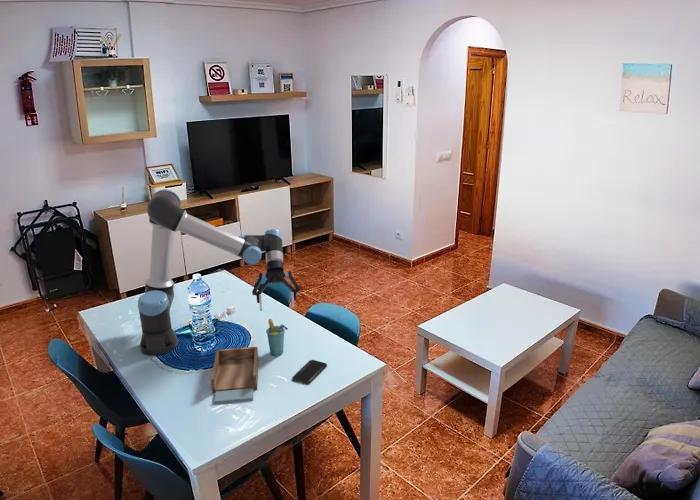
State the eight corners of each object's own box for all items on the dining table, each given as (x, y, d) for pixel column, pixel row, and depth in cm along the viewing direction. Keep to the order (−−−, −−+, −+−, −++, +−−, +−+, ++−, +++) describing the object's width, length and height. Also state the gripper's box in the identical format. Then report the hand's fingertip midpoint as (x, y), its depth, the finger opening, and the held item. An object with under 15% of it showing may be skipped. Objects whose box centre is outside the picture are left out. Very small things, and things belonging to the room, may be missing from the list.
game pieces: (231, 311, 250) (230, 305, 249) (236, 313, 248) (235, 307, 247) (212, 320, 240) (212, 314, 239) (217, 322, 239) (217, 316, 238)
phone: (327, 363, 202) (308, 383, 189) (327, 366, 202) (308, 385, 190) (310, 359, 205) (290, 378, 193) (310, 361, 206) (290, 380, 193)
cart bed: (212, 393, 185) (210, 379, 183) (217, 362, 204) (216, 349, 202) (257, 389, 187) (256, 375, 185) (258, 359, 206) (257, 346, 204)
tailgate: (216, 393, 184) (214, 403, 179) (215, 391, 184) (214, 401, 179) (253, 390, 186) (253, 400, 181) (253, 388, 186) (252, 397, 180)
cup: (296, 356, 209) (294, 323, 204) (281, 363, 204) (279, 330, 199) (275, 344, 218) (273, 312, 213) (260, 351, 213) (258, 318, 208)
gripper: (303, 264, 228) (306, 309, 219) (246, 268, 225) (247, 313, 216) (303, 257, 222) (307, 303, 213) (245, 261, 218) (246, 307, 209)
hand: (277, 308), depth 214 cm, fingers open, 13 cm apart
